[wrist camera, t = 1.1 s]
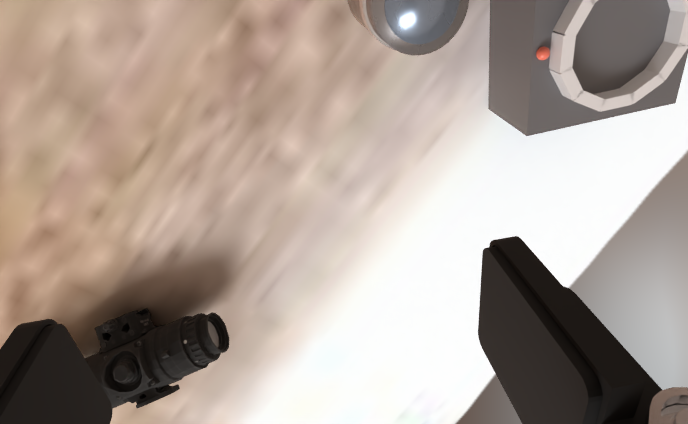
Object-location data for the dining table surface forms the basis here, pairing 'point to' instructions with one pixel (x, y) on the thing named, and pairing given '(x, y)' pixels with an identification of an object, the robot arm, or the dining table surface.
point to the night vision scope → (153, 354)
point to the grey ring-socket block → (583, 59)
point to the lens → (411, 22)
